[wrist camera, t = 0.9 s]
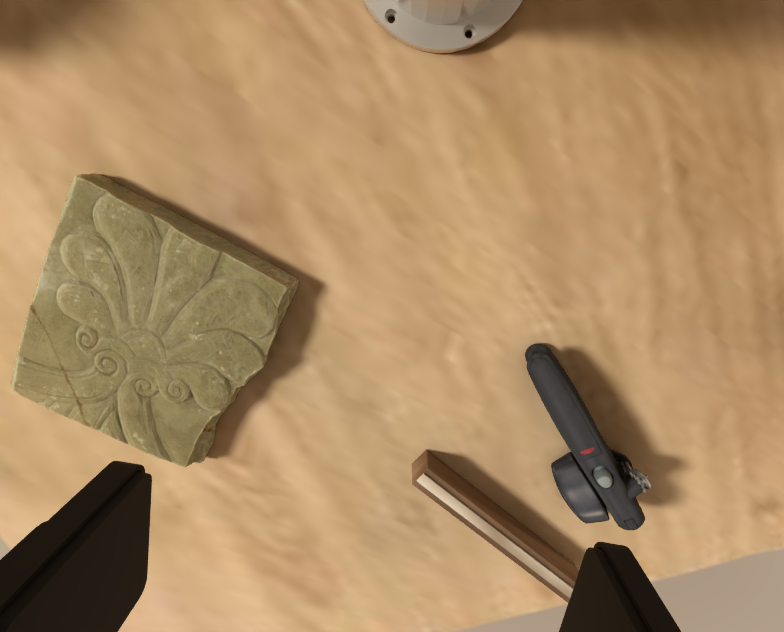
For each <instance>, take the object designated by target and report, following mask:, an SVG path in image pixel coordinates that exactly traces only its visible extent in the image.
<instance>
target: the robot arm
mask: <svg viewBox="0 0 784 632" xmlns="http://www.w3.org/2000/svg"><path fill="white" fill-rule="evenodd" d="M522 1H523V0H363V2H364V4H365V6H366V7H367V9H368V10H369V12H370V13H371V15H372V17H373V18H374V20H375V21H376V22H377V23H378V24H379V25H380V26H381V27H382V28H383V29H384V30H385V31H386V32H387V33H388V34H389V35H391V36H392V37H394V38H395V39H396V40H398V41H399V42H401V43H402V44H405V45H407V46H410V47H412V48H414V49H417V50H421V51H426V52H431V53H452V52H456V51H460V50H465V49H468V48H470V47H473V46H475V45H477V44H479V43H481V42H483V41H485V40H486V39H488V38H489V37H490V36H492V35H493V34H495V33H496V32H497V31H499V30H500V28H501V27H502V26H503V25H504V24H505V23H506V22H507V21H508V20H509V19H510V18H511V17H512V15H513V14H514V13H515V11H516V10H517V8H518V7H519V6H520V4H521V2H522ZM389 17H394V18H395V21H394V22H393V23H389V22H388V18H389ZM466 32H470V33H471V34H472V37H471V38H466V37H465V33H466ZM151 486H152V477H151V475H150V474H148V473H145V469H144V466H142V465H138V464H132V463H126V462H121V461H113V462H111V463H110V464H109V465H108V466H107V467H105V468H104V469H103V470H102V471H101V472H100V473H99V474H98V475H97V476H96V477H95V478H94V479H92V480H91V481H90V482H89V483H88V484H87V485H86V486H85V487H84V488H83V489H82V490H81V491H80V492H78V493H77V494H76V495H75V496H74V497H73V498H72V499H71V500H70V501H69V502H68V503H67V504H65V505H64V506H63V507H62V508H61V509H60V510H59V511H58V512H57V513H56V514H55V515H54V516H52V517H51V518H50V519H49V520H48V521H46V522H43V523H42V524H40V525H39V526H37V527H36V528H35V529H34V530H33V531H32V532H30V533H29V534H28V535H27V536H26V537H25V538H24V539H23V540H22V541H21V542H19V543H18V544H17V545H16V546H15V547H14V548H13V549H12V550H11V551H10V552H9V553H8V554H6V555H5V556H4V557H3V558H2V559H1V560H0V632H118V630H119V629H120V627H121V626H122V624H123V623H124V621H125V620H126V618H127V616H128V615H129V613H130V612H131V610H132V609H133V607H134V606H135V604H136V603H137V601H138V600H139V598H140V596H141V594H142V592H143V590H144V587H145V584H146V580H147V569H148V548H149V527H150V507H151ZM559 632H681V631H680V629H679V627H678V626H677V624H676V623H675V621H674V619H673V618H672V616H671V615H670V613H669V611H668V610H667V608H666V607H665V605H664V603H663V602H662V600H661V598H660V597H659V595H658V594H657V592H656V590H655V589H654V587H653V586H652V584H651V582H650V581H649V579H648V578H647V576H646V574H645V573H644V571H643V570H642V568H641V566H640V565H639V563H638V562H637V560H636V558H635V557H634V555H633V554H632V552H631V551H630V549H629V548H628V547H626V546H623V545H617V544H611V543H605V542H597V543H596V544H595V546H594V548H588V549H587V550H586V552H585V555H584V558H583V561H582V564H581V567H580V570H579V573H578V576H577V579H576V582H575V585H574V588H573V591H572V594H571V597H570V600H569V603H568V606H567V609H566V612H565V616H564V618H563V622H562V624H561V627H560V630H559Z"/></svg>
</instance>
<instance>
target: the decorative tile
mask: <svg viewBox="0 0 784 632" xmlns="http://www.w3.org/2000/svg"><path fill="white" fill-rule="evenodd" d="M298 284H299V279H298V278H296V277H295V276H293V275H291V274H289V273H287V272H285V271H284V270H282V269H280V268H278V267H276V266H274V265H273V264H271V263H269V262H267V261H265V260H263V259H262V258H260V257H258V256H256V255H254V254H252V253H250V252H249V251H247V250H245V249H243V248H241V247H239V246H238V245H236V244H234V243H232V242H230V241H228V240H226V239H225V238H223V237H221V236H219V235H217V234H215V233H213V232H211V231H209V230H207V229H205V228H203V227H201V226H199V225H197V224H195V223H194V222H192V221H190V220H188V219H186V218H184V217H182V216H180V215H178V214H176V213H174V212H172V211H171V210H169V209H167V208H165V207H163V206H161V205H159V204H157V203H155V202H153V201H151V200H149V199H147V198H145V197H143V196H141V195H139V194H137V193H135V192H134V191H132V190H130V189H128V188H126V187H124V186H122V185H120V184H118V183H116V182H114V181H112V180H110V179H108V178H107V177H105V176H103V175H100V174H90V175H87V174H83V175H77V176H75V177H74V180H73V182H72V184H71V187H70V190H69V193H68V196H67V198H66V201H65V204H64V207H63V210H62V213H61V216H60V219H59V222H58V224H57V227H56V230H55V233H54V236H53V239H52V241H51V244H50V247H49V249H48V252H47V256H46V259H45V262H44V265H43V268H42V272H41V275H40V278H39V282H38V285H37V288H36V292H35V295H34V298H33V302H32V305H31V306H30V309H29V313H28V316H27V320H26V324H25V327H24V331H23V335H22V339H21V343H20V346H19V350H18V353H17V358H16V362H15V367H14V371H13V375H12V379H11V388H12V390H13V391H14V392H16V393H18V394H20V395H21V396H23V397H26V398H28V399H30V400H32V401H34V402H36V403H38V404H40V405H42V406H44V407H46V408H48V409H50V410H52V411H53V412H55V413H58V414H60V415H63V416H65V417H68V418H70V419H72V420H75V421H77V422H80V423H81V424H83V425H86V426H88V427H91V428H93V429H96V430H98V431H100V432H102V433H104V434H106V435H109V436H111V437H113V438H115V439H117V440H119V441H122V442H124V443H127V444H129V445H131V446H133V447H135V448H137V449H139V450H141V451H143V452H145V453H148V454H150V455H152V456H154V457H157V458H160V459H164V460H167V461H170V462H173V463H175V464H178V465H180V466H183V467H187V466H188V465H190V464H192V463H193V462H196V463H201V462H202V461H204V459H205V457H206V455H207V453H208V451H209V450H210V448H211V446H212V444H213V442H214V436H215V432H216V423H217V422H218V421H219V417H220V416H221V415H222V414H223V413H224V411H226V409H227V408H228V406H229V405H231V404H232V403H233V402H234V401H235V399H236V396H237V394H238V392H239V391H240V389H241V386H244V385H245V384H247V383H248V381H249V380H250V379H251V378H253V377H254V376H256V374H257V373H258V371H259V370H261V369H262V368H263V367H264V365H265V363H266V361H267V358H268V352H269V349H270V348H271V345H272V344H273V343H274V340H275V337H276V334H277V331H278V328H279V325H280V324H281V322H282V320H283V317H284V315H285V313H286V311H287V309H288V306H289V303H290V302H291V301H292V299H293V296H294V294H295V293H296V290H297V287H298Z"/></svg>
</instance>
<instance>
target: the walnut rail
mask: <svg viewBox="0 0 784 632" xmlns="http://www.w3.org/2000/svg"><path fill="white" fill-rule="evenodd" d="M412 484H413V485H414V486H415V487H417V488H418V489H419V490H421V491H422V492H423V493H425V494H426V495H427V496H429V497H430V498H431V499H433V500H434V501H435V502H436V503H438V504H439V505H440V506H442V507H443V508H444V509H446V510H447V511H448V512H450V513H451V514H452V515H454V516H455V517H456V518H457V519H459V520H460V521H461V522H463V523H464V524H465V525H467V526H468V527H469V528H471V529H472V530H473V531H475V532H476V533H477V534H478V535H480V536H481V537H482V538H484V539H485V540H486V541H488V542H489V543H490V544H492V545H493V546H494V547H496V548H497V549H498V550H499V551H501V552H502V553H503V554H505V555H506V556H507V557H509V558H510V559H511V560H513V561H514V562H515V563H517V564H518V565H519V566H521V567H522V568H523V569H524V570H526V571H527V572H528V573H530V574H531V575H532V576H534V577H535V578H536V579H538V580H539V581H540V582H542V583H543V584H544V585H545V586H547V587H548V588H549V589H551V590H552V591H553V592H555V593H556V594H557V595H559V596H560V597H561V598H563V599H564V600H565V601H566V602H568V603H569V600H570V597H571V594H572V591H573V588H574V585H575V582H576V579H577V576H578V571H577V569H576V567H575V565H574V564H573V563H571V562H570V561H569V560H567V559H566V558H565V557H564V556H562V555H561V554H560V553H559V552H557V551H556V550H555V549H553V548H552V547H551V546H550V545H548V544H547V543H546V542H544V541H543V540H542V539H541V538H539V537H538V536H537V535H535V534H534V533H533V532H532V531H530V530H529V529H528V528H526V527H525V526H524V525H523V524H521V523H520V522H519V521H518V520H516V519H515V518H514V517H512V516H511V515H510V514H509V513H507V512H506V511H505V510H503V509H502V508H501V507H500V506H498V505H497V504H496V503H494V502H493V501H492V500H491V499H489V498H488V497H487V496H486V495H484V494H483V493H482V492H480V491H479V490H478V489H477V488H475V487H474V486H473V485H471V484H470V483H469V482H468V481H466V480H465V479H464V478H462V477H461V476H460V475H459V474H457V473H456V472H455V471H454V470H452V469H451V468H450V467H448V466H447V465H446V464H445V463H443V462H442V461H441V460H439V459H438V458H437V457H436V456H434V455H433V454H432V453H430V452H429V451H428V450H426V451H425V452H424V453H423V454H422V455H421V456H420V457H419V458H418V459H417V460H416V461H415V462H414V463H413V464H412Z"/></svg>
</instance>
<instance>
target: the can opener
mask: <svg viewBox="0 0 784 632" xmlns="http://www.w3.org/2000/svg"><path fill="white" fill-rule="evenodd" d="M525 357H526V361H527V370H528V373H529V375H530V377H531V379H532V381H533V383H534V385H535V388H536V389H537V391H538V393H539V395H540V397H541V399H542V401H543V403H544V405H545V407H546V409H547V411H548V412H549V414H550V416H551V418H552V420H553V422H554V423H555V425H556V427H557V429H558V430H559V432H560V434H561V436H562V437H563V439H564V440H565V442H566V444H567V445H568V447H569V449H570V450H571V452H569V453H567V454H566V455H564V456H562V457H561V458H559V459H558V460H556V461H555V462H553V463H552V464H551V467H552V472H553V476H554V479H555V482H556V485H557V487H558V489H559V491H560V493H561V495H562V497H563V498H564V500H565V502H566V503H567V505H568V506H569V507H570V509H571V510H572V511H573V512H574V513H575V514H576V516H577V517H578V518H579V519H580V520H582V521H583V522H584V523H595V522H602V521H608V520H609V515H608V512H607V508H608V510H609V511H610V513H611V515H612V516H613V518H614V520H615V521H616V523H617V524H618V526H619V527H621V528H623V529H625V530H636V529H638V528H639V527H640V526H641V525H642V524H643V522H644V521H645V516H644V514H643V512H642V509H641V507H640V506H639V503H638V501H637V499H636V496H637V495H639V494H640V493H641V492H642V493H645V492H646V489H645V488H647V489H651V484H650V482H649V481H648V480H647V478H648V476H647V475H646V476H644V475H643V474H642V473H641V472H640V471H638V470H637V469H633V467H632V464H631V462H630V460H629V459H628V458H627V457H626V456H624V455H622V454H620V453H618V452H615V451H613V450H611V449H609V448H608V446H607V444H606V443H605V441H604V439H603V437H602V436H601V434H600V432H599V430H598V429H597V427H596V425H595V423H594V421H593V419H592V417H591V416H590V414H589V412H588V410H587V408H586V406H585V404H584V403H583V401H582V399H581V397H580V396H579V394H578V392H577V390H576V389H575V387H574V385H573V383H572V382H571V380H570V378H569V377H568V375H567V374H566V372H565V371H564V369H563V368H562V366H561V365H560V363H559V362H558V360H557V359H556V357H555V356H554V355H553V353H552V352H551V350H550V349H549V348H548V347H547V346H545V345H543V344H533V345H531V346H530V347H529V348H528V349H527V351H526V353H525ZM606 507H607V508H606Z"/></svg>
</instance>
